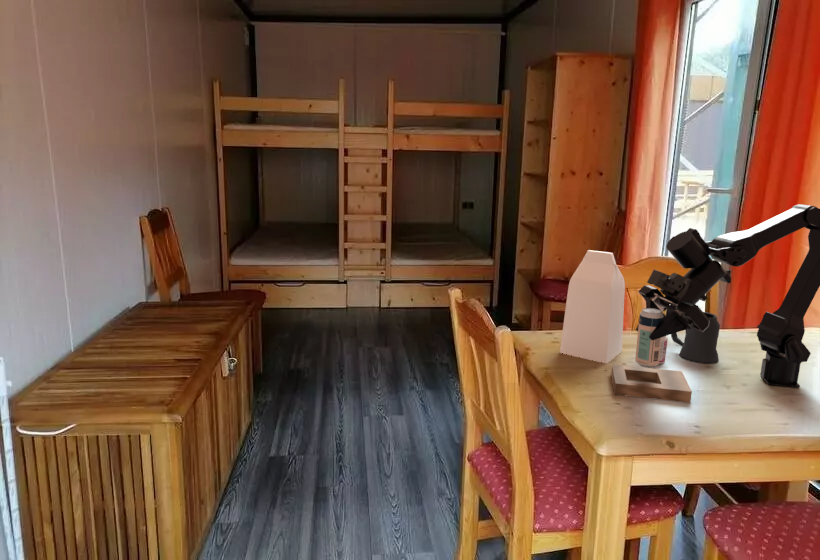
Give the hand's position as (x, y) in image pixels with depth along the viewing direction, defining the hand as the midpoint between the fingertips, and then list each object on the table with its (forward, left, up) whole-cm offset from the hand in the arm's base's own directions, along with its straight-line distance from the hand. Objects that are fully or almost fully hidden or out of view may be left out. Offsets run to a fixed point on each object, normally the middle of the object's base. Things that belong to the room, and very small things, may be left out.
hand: (643, 335), depth 133 cm
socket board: (-2, -1, -12) cm, 12 cm away
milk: (+9, -22, -12) cm, 27 cm away
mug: (-16, -27, -12) cm, 34 cm away
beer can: (-1, -1, -7) cm, 7 cm away
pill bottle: (-6, -20, -12) cm, 24 cm away
